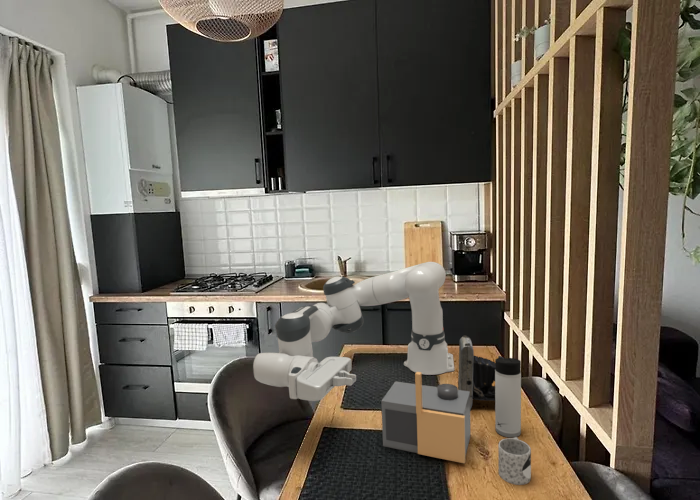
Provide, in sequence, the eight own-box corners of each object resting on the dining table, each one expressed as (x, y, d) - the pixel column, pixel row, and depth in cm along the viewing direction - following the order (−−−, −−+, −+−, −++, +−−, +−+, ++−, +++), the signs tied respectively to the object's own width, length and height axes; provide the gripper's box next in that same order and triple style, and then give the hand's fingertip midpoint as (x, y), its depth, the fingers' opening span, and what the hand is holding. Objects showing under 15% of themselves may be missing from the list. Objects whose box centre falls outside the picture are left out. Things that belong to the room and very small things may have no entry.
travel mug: (498, 438, 105) (498, 363, 103) (493, 424, 111) (492, 353, 109) (524, 439, 104) (524, 363, 102) (517, 425, 110) (517, 354, 108)
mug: (530, 488, 86) (530, 458, 85) (497, 480, 89) (496, 451, 88) (531, 461, 95) (531, 434, 94) (501, 454, 98) (501, 428, 97)
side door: (418, 451, 99) (416, 371, 97) (465, 460, 95) (464, 377, 93) (417, 455, 98) (415, 374, 96) (464, 464, 93) (463, 380, 91)
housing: (396, 422, 114) (395, 374, 113) (470, 435, 106) (469, 384, 105) (382, 446, 103) (380, 393, 102) (464, 463, 95) (463, 405, 94)
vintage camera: (515, 415, 116) (517, 347, 115) (459, 410, 120) (460, 344, 118) (508, 399, 126) (511, 337, 124) (457, 395, 129) (458, 334, 127)
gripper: (324, 370, 119) (368, 376, 113) (286, 401, 100) (337, 410, 94) (323, 349, 118) (368, 354, 112) (285, 377, 99) (336, 384, 94)
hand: (354, 380), depth 103 cm, fingers closed
